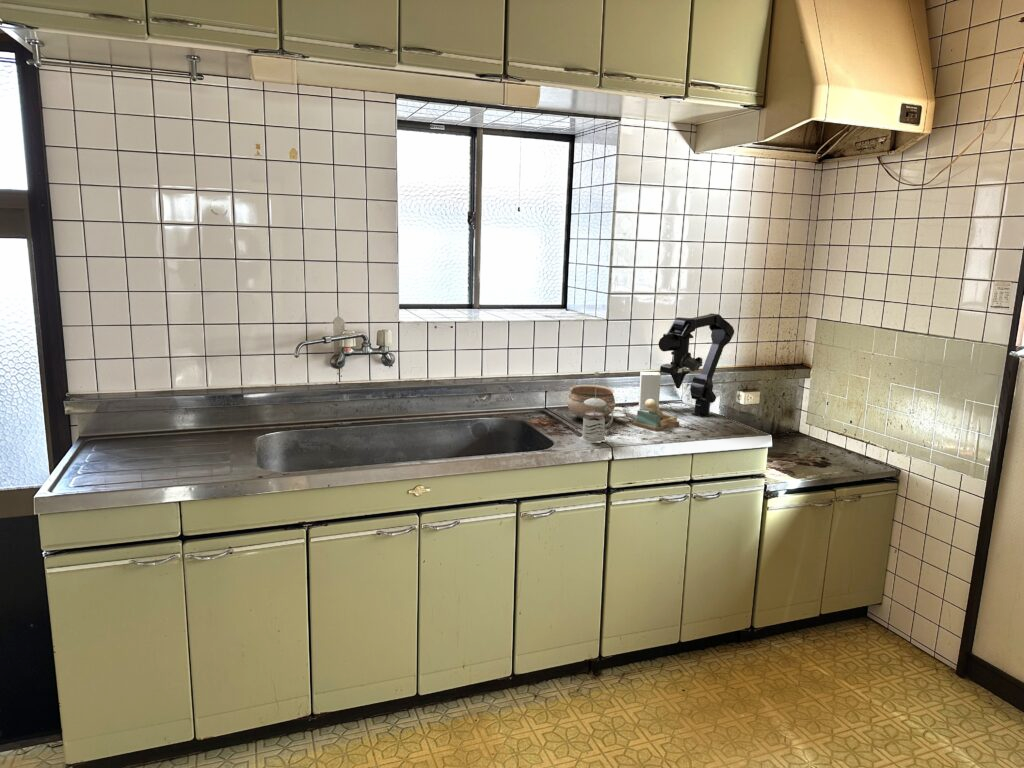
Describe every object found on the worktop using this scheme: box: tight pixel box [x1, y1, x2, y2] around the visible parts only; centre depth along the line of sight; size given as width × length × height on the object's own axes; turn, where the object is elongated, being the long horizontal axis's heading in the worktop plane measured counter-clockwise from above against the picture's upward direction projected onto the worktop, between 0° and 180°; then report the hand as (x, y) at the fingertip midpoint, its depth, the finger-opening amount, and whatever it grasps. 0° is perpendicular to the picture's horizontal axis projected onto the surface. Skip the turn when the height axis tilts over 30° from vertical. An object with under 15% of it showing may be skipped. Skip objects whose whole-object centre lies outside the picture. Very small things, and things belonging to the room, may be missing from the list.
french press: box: [579, 371, 614, 442], centre depth 253 cm, size 10×12×25 cm
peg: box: [644, 399, 664, 420], centre depth 276 cm, size 4×4×10 cm
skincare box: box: [638, 371, 662, 411], centre depth 302 cm, size 8×7×16 cm
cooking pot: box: [566, 384, 617, 421], centre depth 282 cm, size 25×19×12 cm
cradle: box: [631, 409, 680, 432], centre depth 278 cm, size 16×11×6 cm
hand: (678, 388), depth 284 cm, fingers closed
